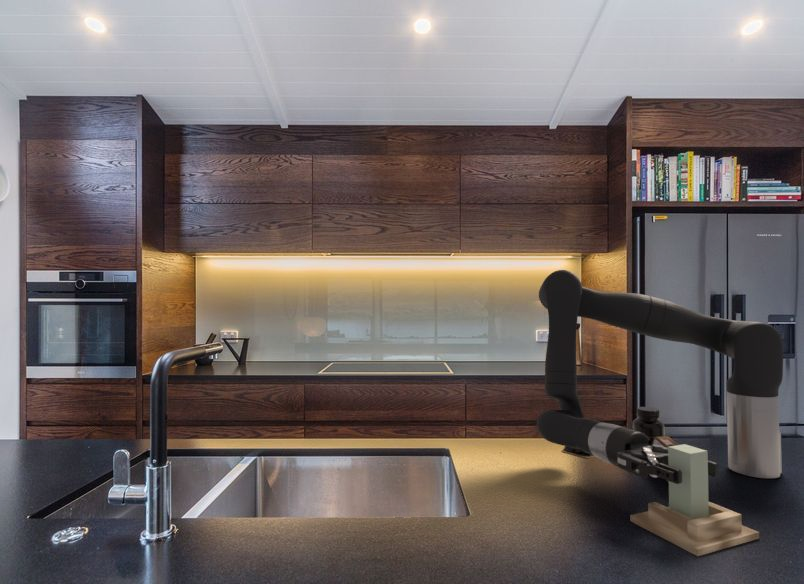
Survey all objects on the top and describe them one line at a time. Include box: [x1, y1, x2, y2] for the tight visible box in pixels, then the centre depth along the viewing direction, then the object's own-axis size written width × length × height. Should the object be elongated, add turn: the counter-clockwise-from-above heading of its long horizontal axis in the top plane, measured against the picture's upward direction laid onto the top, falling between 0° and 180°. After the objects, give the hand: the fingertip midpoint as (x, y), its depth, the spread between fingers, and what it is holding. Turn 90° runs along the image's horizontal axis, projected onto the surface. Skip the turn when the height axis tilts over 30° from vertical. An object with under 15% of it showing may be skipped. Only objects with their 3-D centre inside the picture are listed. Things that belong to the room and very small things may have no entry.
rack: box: [629, 501, 760, 557], centre depth 76 cm, size 14×12×4 cm
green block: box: [668, 443, 710, 519], centre depth 77 cm, size 4×4×12 cm
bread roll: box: [561, 446, 596, 460], centre depth 118 cm, size 11×8×4 cm
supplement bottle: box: [632, 406, 666, 444], centre depth 112 cm, size 7×7×12 cm
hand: (699, 473), depth 75 cm, fingers open, 8 cm apart
